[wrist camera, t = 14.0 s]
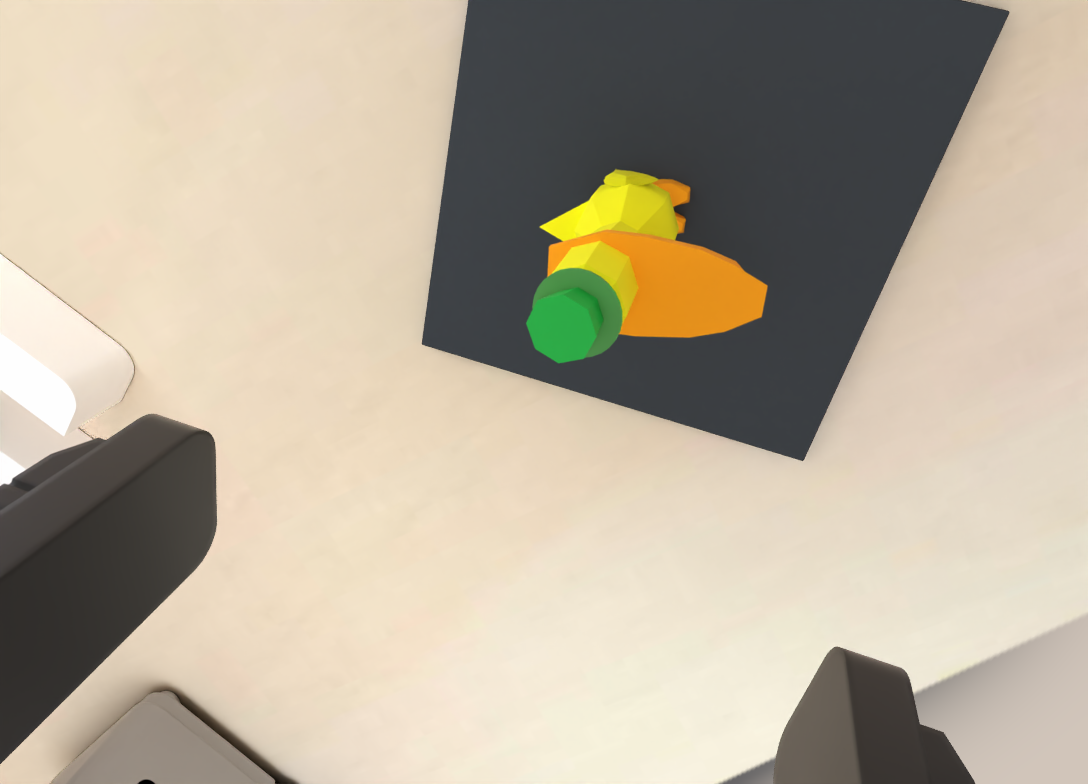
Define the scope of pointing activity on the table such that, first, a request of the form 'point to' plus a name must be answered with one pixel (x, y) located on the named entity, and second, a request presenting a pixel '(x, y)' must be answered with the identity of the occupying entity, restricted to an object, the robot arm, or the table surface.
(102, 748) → the projector
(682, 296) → the toy figure
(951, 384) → the table surface
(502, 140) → the mat
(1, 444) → the slotted white bracket
